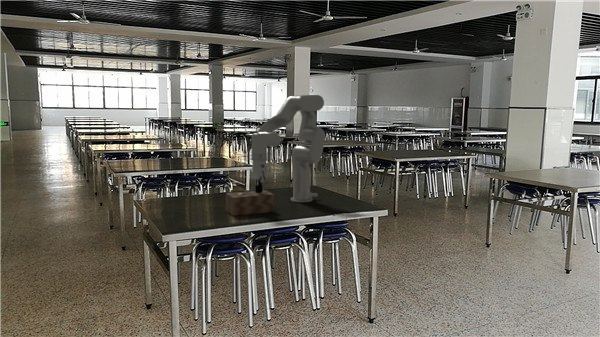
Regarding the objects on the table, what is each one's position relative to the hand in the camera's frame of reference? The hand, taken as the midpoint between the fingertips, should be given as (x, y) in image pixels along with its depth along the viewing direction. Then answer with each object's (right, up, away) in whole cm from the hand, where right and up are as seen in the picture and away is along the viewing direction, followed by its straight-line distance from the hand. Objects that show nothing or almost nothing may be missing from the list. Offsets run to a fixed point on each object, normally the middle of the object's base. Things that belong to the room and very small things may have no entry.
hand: (258, 192), depth 236 cm
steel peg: (0, -8, +1) cm, 8 cm away
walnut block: (-5, -10, -1) cm, 11 cm away
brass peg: (-9, -8, -3) cm, 13 cm away
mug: (-12, -7, +17) cm, 22 cm away
